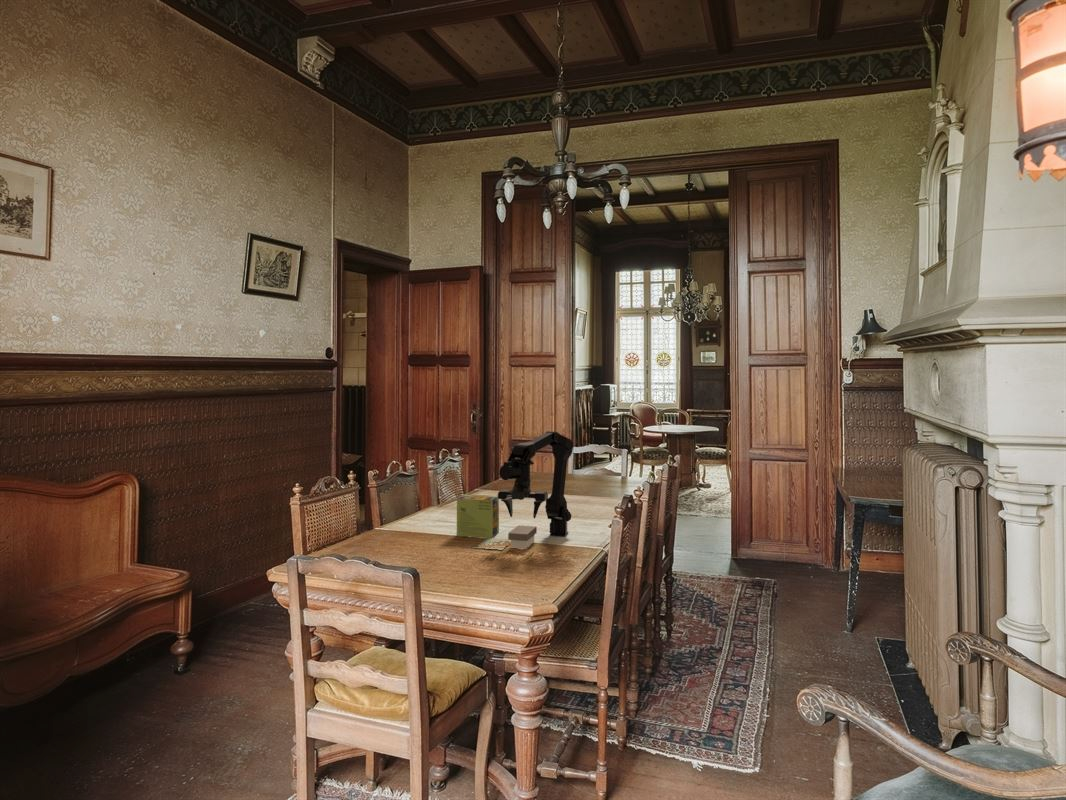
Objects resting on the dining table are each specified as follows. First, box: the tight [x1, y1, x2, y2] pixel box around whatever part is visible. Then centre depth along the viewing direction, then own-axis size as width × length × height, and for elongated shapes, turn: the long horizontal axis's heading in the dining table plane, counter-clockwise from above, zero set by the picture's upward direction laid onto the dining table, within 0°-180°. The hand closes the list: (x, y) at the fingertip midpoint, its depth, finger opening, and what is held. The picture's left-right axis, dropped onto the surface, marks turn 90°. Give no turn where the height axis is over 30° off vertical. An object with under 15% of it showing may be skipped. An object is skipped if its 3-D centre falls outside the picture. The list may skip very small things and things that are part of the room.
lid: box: [507, 525, 538, 541], centre depth 256 cm, size 7×13×2 cm, turn 165°
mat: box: [474, 537, 511, 551], centre depth 257 cm, size 11×16×1 cm
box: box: [510, 535, 535, 550], centre depth 256 cm, size 6×12×5 cm, turn 165°
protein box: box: [456, 494, 500, 539], centre depth 274 cm, size 10×15×16 cm
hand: (522, 517), depth 256 cm, fingers open, 9 cm apart
